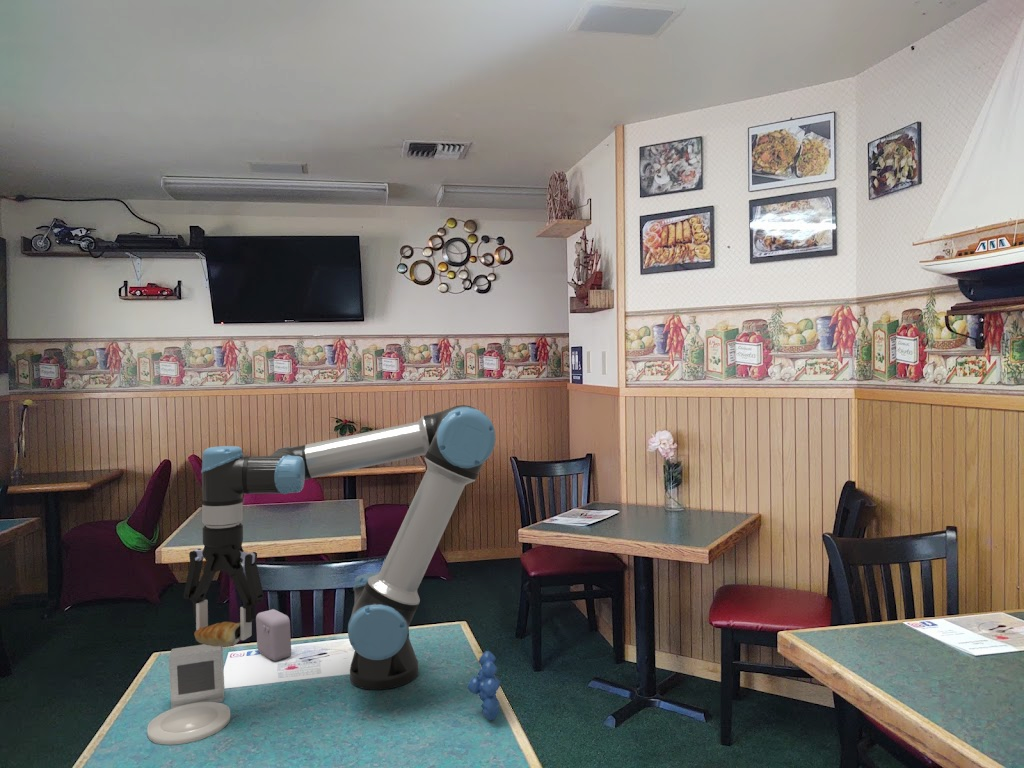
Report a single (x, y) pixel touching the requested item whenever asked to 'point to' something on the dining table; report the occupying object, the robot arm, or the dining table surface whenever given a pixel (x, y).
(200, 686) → the picture frame
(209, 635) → the pastry
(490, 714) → the grapes
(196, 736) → the plate
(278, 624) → the electronic device
